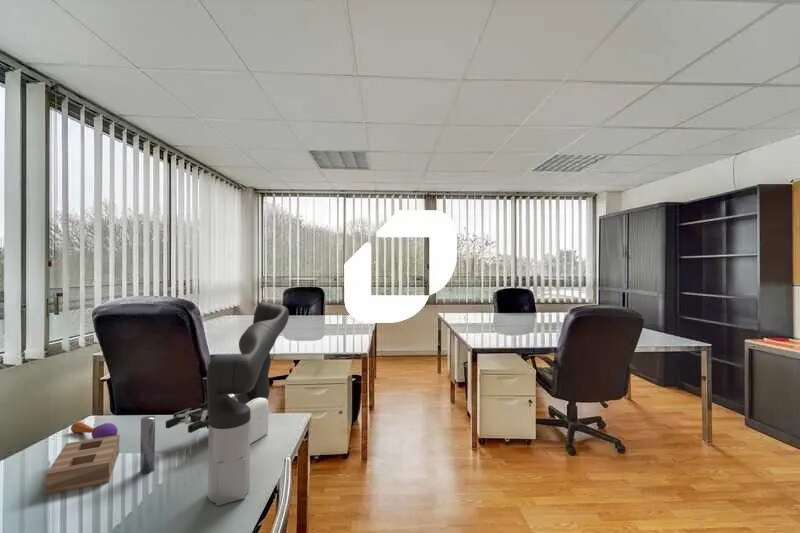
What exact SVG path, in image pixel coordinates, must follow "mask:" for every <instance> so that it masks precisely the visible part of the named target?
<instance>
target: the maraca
mask: <svg viewBox="0 0 800 533" xmlns="http://www.w3.org/2000/svg"><path fill="white" fill-rule="evenodd" d="M70 431H71V432H73V433H81V434H82V433H86V434H87V433H88V434H89V433H91V437H92V439H96V438H102V437H108V436H114V435H118V428H117V425H116V424H114V423H111V422H105V423H102V424H100V425H97V426H95V427H92V426H90V425H88V424H86V423H84V422H82V421H75V422H74V423H72V425H71V427H70Z"/></svg>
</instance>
